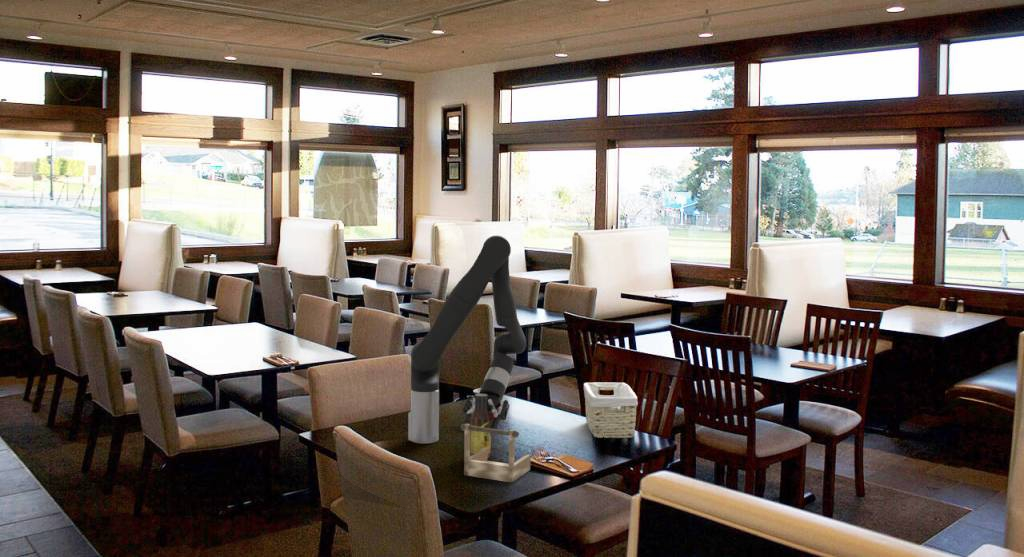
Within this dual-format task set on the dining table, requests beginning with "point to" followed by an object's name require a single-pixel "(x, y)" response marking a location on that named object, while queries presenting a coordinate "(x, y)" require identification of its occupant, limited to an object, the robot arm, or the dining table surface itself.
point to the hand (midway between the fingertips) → (478, 428)
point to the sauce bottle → (480, 425)
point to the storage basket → (610, 410)
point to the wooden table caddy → (490, 469)
